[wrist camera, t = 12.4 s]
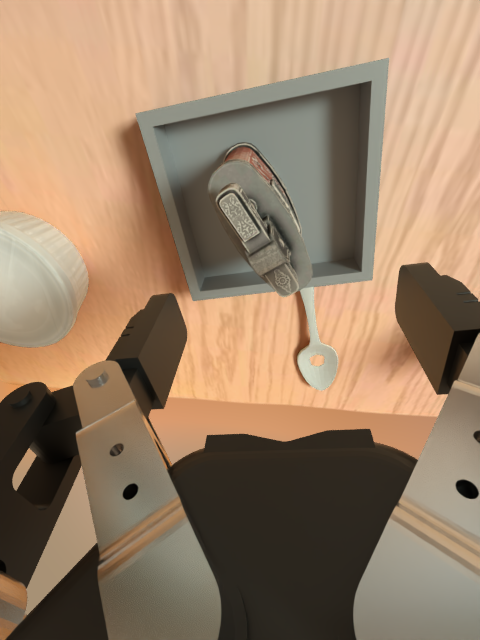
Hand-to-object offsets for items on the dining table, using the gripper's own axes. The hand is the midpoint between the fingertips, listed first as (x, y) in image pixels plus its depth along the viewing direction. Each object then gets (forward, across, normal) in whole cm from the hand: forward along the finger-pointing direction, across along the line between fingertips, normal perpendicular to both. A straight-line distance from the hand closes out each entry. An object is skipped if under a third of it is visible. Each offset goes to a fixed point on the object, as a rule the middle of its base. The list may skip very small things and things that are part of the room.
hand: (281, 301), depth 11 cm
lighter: (+14, +1, 0) cm, 14 cm away
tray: (+15, +1, 0) cm, 15 cm away
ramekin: (+15, +22, +2) cm, 26 cm away
